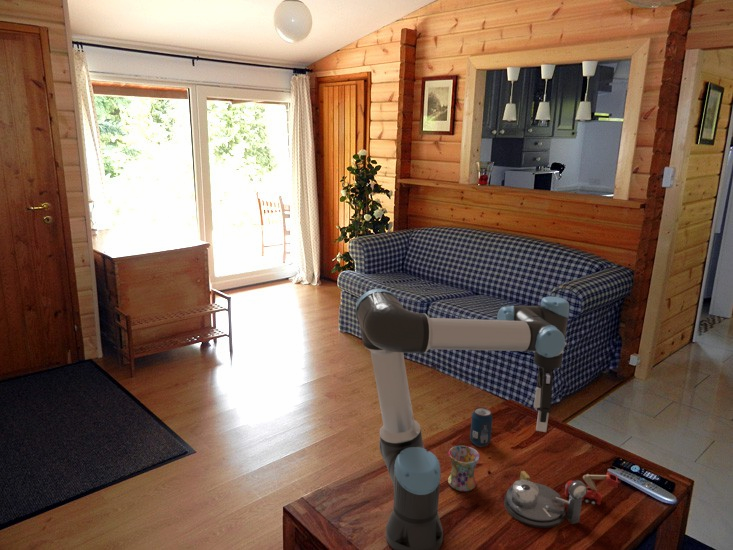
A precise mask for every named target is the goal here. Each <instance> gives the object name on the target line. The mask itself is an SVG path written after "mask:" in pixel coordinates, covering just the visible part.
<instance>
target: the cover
mask: <svg viewBox="0 0 733 550" xmlns="http://www.w3.org/2000/svg"><path fill="white" fill-rule="evenodd" d="M534 483H535V482H534ZM534 483H533V481H531V480H530V481H527V480H520V479H519V480H515V481H514V482H513V484H512V485H513V491H512V502H513V503H514V504H515V505H516V506H518V507H520V508H523V509H533V508H535V507H536V506H537V500H538V491H539V489H538V487H537V485H536V484H534Z"/></svg>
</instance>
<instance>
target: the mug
mask: <svg viewBox="0 0 733 550" xmlns="http://www.w3.org/2000/svg"><path fill="white" fill-rule="evenodd" d="M448 457H449V459H450V462H451V463H450V464H451V472H450V475H449V477H448V479H447V482H448V485H449V486H450V487H451V488H452V489H454V490H456V491H459V492H469V491H472V490H474V489H475V487H476V485H477V481H476V479H475V469H476V465H477V464H478V462H479V460H480V458H481V455H480V453H479V452H478V451H477V450H476V449H475V448H473V447H470V446H468V445H457V446H456V445H455V446H453V447H451V448H450V449H449V450H448Z"/></svg>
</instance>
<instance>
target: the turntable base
mask: <svg viewBox="0 0 733 550" xmlns="http://www.w3.org/2000/svg"><path fill="white" fill-rule="evenodd" d="M506 497H507V492H506V493H505V494H504V500H503V504H504V505H503V506H504V508H505V510H506V512H507V513H508V514H509V515H510V516H511V517H512V518H514V520H516V521H518V522H520V523H522V524H524V525H526V526H529V527H534V528H538V529H550V528H554V527H556V526H559V525H560V524H562V523H563V521H565V519H566V515H567V510H566V506H565V507H564V513H563V515H562V517H561V518H559V519H558V520H556V521H553V522H548V523H540V522H534V521H530V520H527V519H525V518H523V517H521V516H519V515H517V514H516V513H515V512H513V511H512V510H511V509H510V507H509V506H508V504H507V501H506Z"/></svg>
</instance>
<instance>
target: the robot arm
mask: <svg viewBox="0 0 733 550" xmlns="http://www.w3.org/2000/svg"><path fill="white" fill-rule="evenodd" d="M355 318H356V319H357V321H358V323H359V328H360V333H361V339H362V344H363V347H364V348H365V349H367V350H368V351H369V352H370V357H371V362H372V369H373V374H374V378H375V379H374V380H375V384H376V385H375V386H376V392H377V395H378V396H377V397H378V403H379V408H380V413H381V420H382V424H383V425H382V426H381V427H380V428H379V432H378V433H379V450H380V453H381V454H380V455H381V456H382V459H383V461H384V463H385V466H386V469H387V471H388V473H389V476H390V479H391V482H392V485H393V509H392V511H391V513H390V515H389V517H388V520H387V522H386V525H385V539H386V542H387V543H388V545H389V546H390V548H391V549H393V550H439V549H440V548H441V546H442V544H443V538H444V531H443V526H442V523H441V519H440V516H439V513H438V511H439V510H438V509H439V499H440V485H441V478H442V477H441V476H442V474H441V473H442V472H441V464H440V461H439V458H438V457H437V455H435V454H434V453H433V452H431V450H430V451H428V449H426V448H425V446H424V442H423V441H424V440H423V435H422V429H421V425H420V423H419V422H418V421H416V420H415V419H414V413H413V406H412V401H411V394H410V388H409V381H408V376H407V375H408V374H407V368H406V362H405V355H404V354H425V353H427V352H428V351H429V350H452V351H453V350H454V351H455V350H458V351H459V350H461V351H468V350H469V351H499V352H500V351H505V352H506V351H507V352H508V351H510V352H511V351H512V352H534V355H533V362H534V364H535V365H536V366H538V372H537V375H536V377H537V378H536V380H535V381H536V388H535V396H534V402H533V408H534V409H536V410H537V412H538V413H537V420H536V427H535V431H536V432H543V433H547V429H548V421H549V414H550V413H551V411H552V410H551V406H552V405H551V404H552V392H553V384H554V377H555V373H554V370H555V369H560V368H561V367H562V364H563V363H562V362H563V357H564V354H563V353H564V348H565V346H567V344H568V343H567V341H566V335H567V329H568V328H567V327H568V323H569V322H568V321H569V318H570V303H569V301H568V300H566V299H564V297H563V298H562V297H560V296H559V297H558V296H545V297H542V298H541V301H540V304H538V305H508V306H502V307H501V308H500V309H499V310H498V312H497V317H496V319H474V318H450V317H449V318H448V317H447V318H446V317H445V318H443V317H442V318H441V317H430V316H428V315H427V314H426V313H423V312H422V313H419V312H414V311H410V310H408V309H405V307H404V306H403V305H402V304H401V303H400V301H399V300H398V298H397V296H396V295H395V294H394V293H392V292H390V291H389V290H387V289H384V288H383V289H382V288H373V289H370V290H368V291H367V292H365V293H363V294H362V295H361V296H360V297H359V299H358V300H357V302H356V305H355Z"/></svg>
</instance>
